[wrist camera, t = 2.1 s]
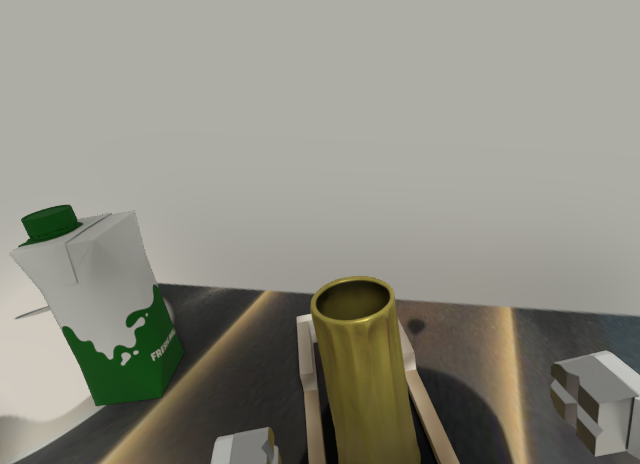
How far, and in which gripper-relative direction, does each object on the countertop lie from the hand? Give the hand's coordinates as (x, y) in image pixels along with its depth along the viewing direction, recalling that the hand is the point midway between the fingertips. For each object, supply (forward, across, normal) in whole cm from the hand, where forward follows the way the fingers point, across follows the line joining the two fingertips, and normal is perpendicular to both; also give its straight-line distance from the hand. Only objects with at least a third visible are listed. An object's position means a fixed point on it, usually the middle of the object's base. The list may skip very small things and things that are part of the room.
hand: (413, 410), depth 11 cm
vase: (+12, +1, +18) cm, 22 cm away
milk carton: (+27, +24, +17) cm, 40 cm away
